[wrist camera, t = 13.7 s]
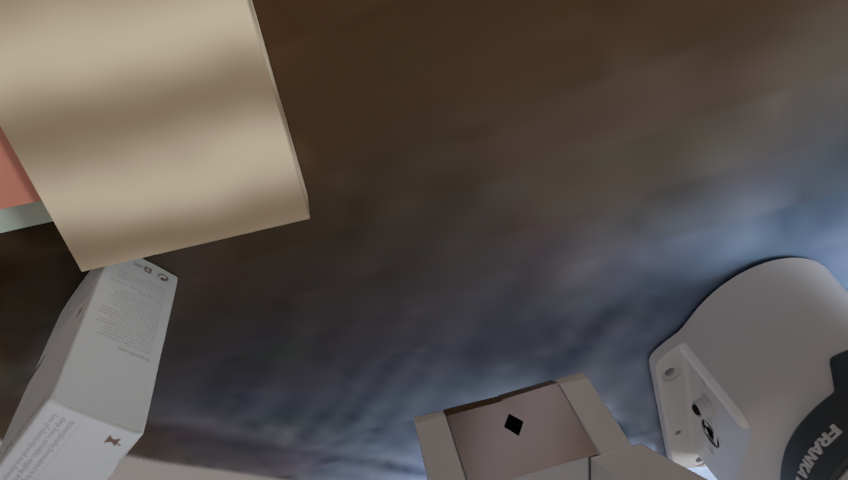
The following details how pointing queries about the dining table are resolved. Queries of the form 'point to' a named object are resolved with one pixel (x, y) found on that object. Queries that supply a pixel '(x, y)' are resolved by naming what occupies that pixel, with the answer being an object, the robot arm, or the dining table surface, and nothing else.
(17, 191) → the pink tray
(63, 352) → the skincare box
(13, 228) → the mat
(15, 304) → the dining table surface
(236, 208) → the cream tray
